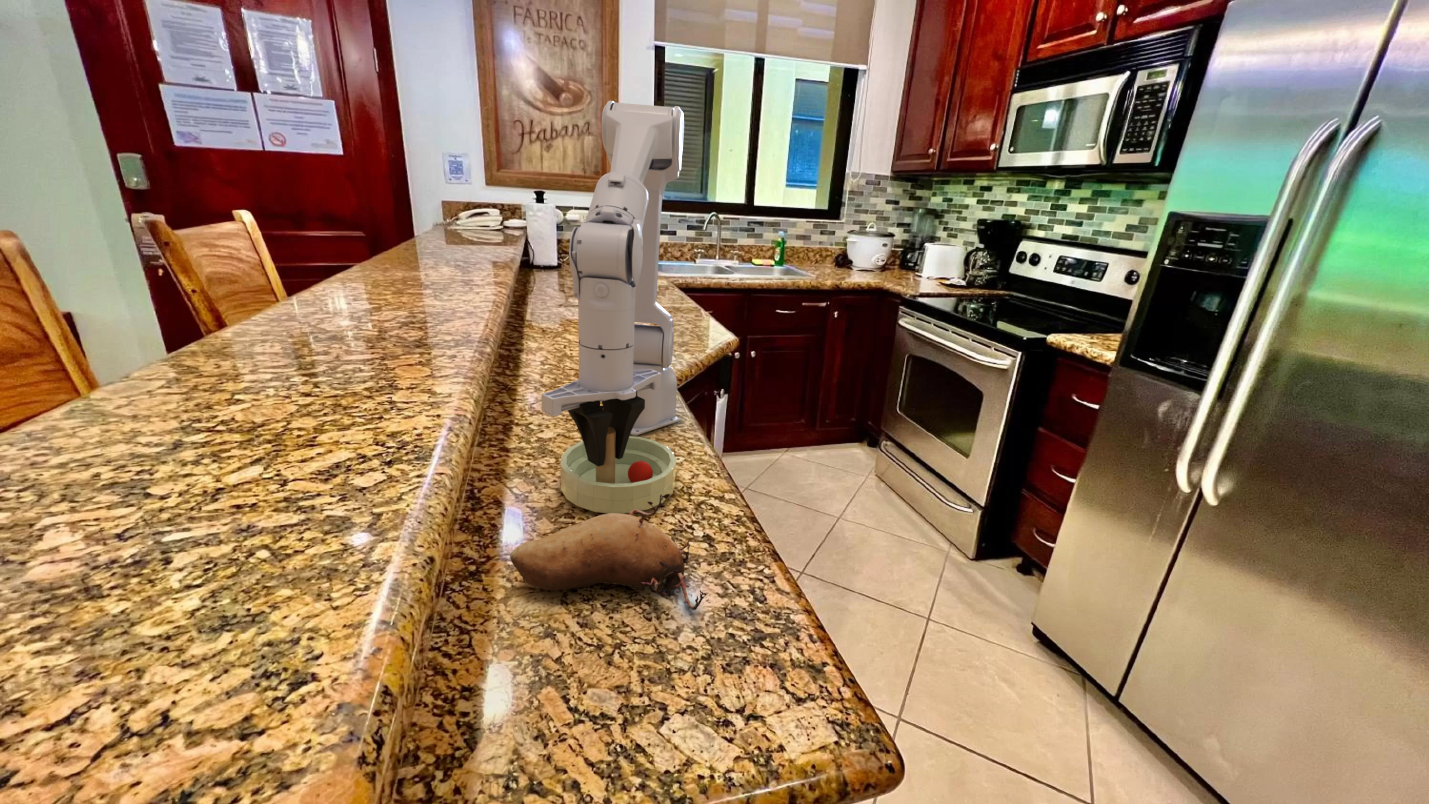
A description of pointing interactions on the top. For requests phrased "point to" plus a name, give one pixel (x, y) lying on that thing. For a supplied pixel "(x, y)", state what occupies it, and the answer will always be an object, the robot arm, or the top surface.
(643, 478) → the ball
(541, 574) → the vegetable
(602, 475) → the stick
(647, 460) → the bowl
